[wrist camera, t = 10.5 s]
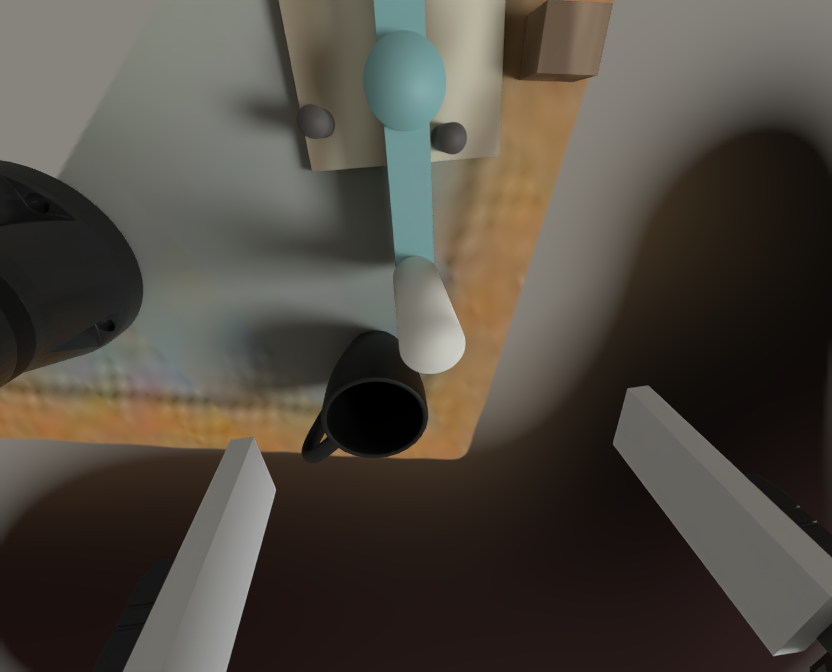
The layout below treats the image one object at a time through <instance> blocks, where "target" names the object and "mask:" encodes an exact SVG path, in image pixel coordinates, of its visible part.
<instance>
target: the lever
mask: <svg viewBox="0 0 832 672" xmlns="http://www.w3.org/2000/svg"><path fill="white" fill-rule="evenodd" d="M373 4H374V16H375V28H376V40H377V43H376V44H375V45H374V47H373V48H372V50H371V51H370V53H369V55H368V58H367V60H366V63H365V67H364V74H363V86H364V92H365V96H366V99H367V102H368V105H369V107H370V109H371V111H372V113H373V114H374V116H375V117H376V118H377V119H378V121H379V122H381V123H382V124H383V125H384V135H385V146H386V158H387V170H388V182H389V194H390V206H391V218H392V230H393V241H394V253H395V265H396V268H395V271H394V274H393V284H394V296H395V307H396V318H397V329H398V340H399V351H400V355H401V358H402V359H403V361H404V362H405V364H406V365H407V366H408V367H410V368H411V369H413V370H415V371H417V372H420V373H424V374H435V373H440V372H443V371H446V370H448V369H450V368H451V367H453V366H454V365H455V364H456V363H457V362H458V361H459V360H460V359H461V357H462V355H463V353H464V350H465V336H464V334H463V331H462V329H461V326H460V324H459V322H458V319H457V317H456V314H455V312H454V310H453V307H452V305H451V302H450V300H449V298H448V295H447V293H446V290H445V288H444V285H443V283H442V281H441V278H440V276H439V273H438V271H437V269H436V267H435V265H434V251H433V218H432V185H431V151H430V121H431V120H432V119H433V118H434V117H435V116H436V114H437V113H438V111H439V109H440V108H441V105H442V103H443V100H444V97H445V92H446V72H445V67H444V64H443V61H442V58H441V56H440V54H439V52H438V51H437V49H436V48H435V46H434V45H433V44H432V43H431V42H430V41H429V40H428V39H427V38H426V27H425V0H373Z"/></svg>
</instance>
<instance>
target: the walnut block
mask: <svg viewBox="0 0 832 672" xmlns="http://www.w3.org/2000/svg"><path fill="white" fill-rule="evenodd" d="M612 5H613V3H597V2H579V1H560V0H547V1H546V2H545V3H543V4H542V5H541V6H540V7H538V8H537V9H536V10H535V11H533V12H532V13H531V14H530V15H528V16H527V24H526V32H525V39H524V47H523V55H522V63H521V70H520V78H519V80H532V81H561V82H575V81H578V80H582V79H586V78H589V77H593V76H596V75H598V71H599V66H600V61H601V57H602V52H603V47H604V42H605V38H606V33H607V29H608V24H609V19H610V15H611V10H612Z"/></svg>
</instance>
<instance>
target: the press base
mask: <svg viewBox="0 0 832 672" xmlns="http://www.w3.org/2000/svg"><path fill="white" fill-rule="evenodd" d="M279 4H280V9H281V15H282V20H283V25H284V30H285V35H286V40H287V45H288V50H289V56H290V61H291V66H292V71H293V76H294V81H295V86H296V91H297V97H298V102H299V107H300V110H299V112H298V115H297V123H298V127H299V129H300V131H301V132H302V133H303V134H304V135H305V138H306V143H307V148H308V153H309V158H310V163H311V168H312V172H317V171H329V170H341V169H352V168H364V167H375V166H387V158H386V146H385V135H384V125H383V124H382V123H381V122H379V121H378V119H377V118H376V117H375V116H374V114H373V113H372V111H371V109H370V107H369V105H368V102H367V99H366V96H365V92H364V86H363V74H364V67H365V63H366V60H367V58H368V55H369V53H370V51H371V50H372V48H373V47H374V45H375V44H376V43H377V40H376V28H375V16H374V4H373V0H279ZM504 22H505V0H425V27H426V38H427V39H428V40H429V41H430V42H431V43H432V44H433V45H434V46H435V48H436V49H437V51H438V52H439V54H440V56H441V58H442V61H443V64H444V67H445V72H446V92H445V97H444V100H443V103H442V105H441V108H440V109H439V111H438V113H437V114H436V116H435V117H434V118H433V119H432V120H431V121H430V151H431V162H434V161H445V160H457V159H468V158H480V157H492V156H499V154H500V128H501V102H502V75H503V49H504Z"/></svg>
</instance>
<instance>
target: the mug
mask: <svg viewBox="0 0 832 672" xmlns="http://www.w3.org/2000/svg"><path fill="white" fill-rule="evenodd" d="M427 421H428V408H427V402H426V396H425V391H424V386H423V383H422V380H421V377H420V374H419V372H417V371H415V370H413V369H411V368H410V367H408V366H407V365H406V364H405V362H404V361H403V359H402V358H401V355H400V351H399V340H398V339H397V338H396V337H395V336H393V335H391V334H389V333H386V332H383V331H370V332H366V333H363V334H362V335H360V336H358V337H357V338H356V339H355V340H354V341H353V342H352V343H351V345H350V346H349V347H348V348H347V350H346V351H345V352H344V354H343V355H342V357H341V358H340V359H339V361H338V363H337V364H336V366H335V368H334V370H333V372H332V374H331V377H330V379H329V382H328V385H327V389H326V393H325V397H324V402H323V407H322V410H321V412H320V414H319V415H318V417H317V419H316V420H315V422H314V424H313V426H312V427H311V429H310V431H309V433H308V435H307V437H306V439H305V441H304V444H303V447H302V456H303V458H304V459H305V460H306V461H307V462H309V463H318V462H320V461H321V460H323V459H325V458H326V457H328V456H329V455H330V454H332V453H333V452H334V451H335V450H337V449H338V448H340V449H341V450H343V451H345V452H347V453H350V454H352V455H355V456H360V457H365V458H380V457H388V456H391V455H395V454H398V453H400V452H402V451H404V450H406V449H408V448H409V447H411V446H412V445H413V444H415V443H416V442H417V441H418V439H419V438H420V437H421V436H422V434H423V432H424V430H425V429H426V426H427ZM324 433H326V435H327V438H326V439H324V440H323V441H322V442H321V443H320V441H321V439H322V437H323V435H324Z"/></svg>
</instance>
